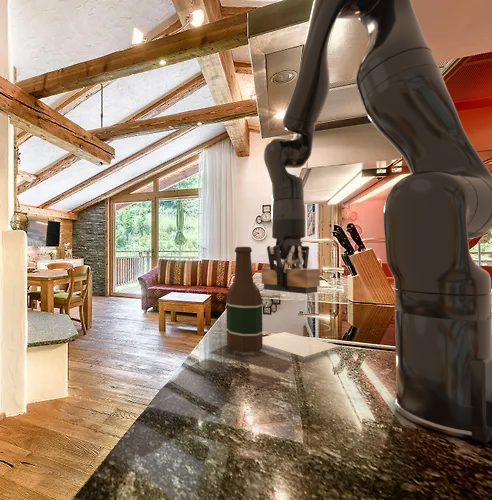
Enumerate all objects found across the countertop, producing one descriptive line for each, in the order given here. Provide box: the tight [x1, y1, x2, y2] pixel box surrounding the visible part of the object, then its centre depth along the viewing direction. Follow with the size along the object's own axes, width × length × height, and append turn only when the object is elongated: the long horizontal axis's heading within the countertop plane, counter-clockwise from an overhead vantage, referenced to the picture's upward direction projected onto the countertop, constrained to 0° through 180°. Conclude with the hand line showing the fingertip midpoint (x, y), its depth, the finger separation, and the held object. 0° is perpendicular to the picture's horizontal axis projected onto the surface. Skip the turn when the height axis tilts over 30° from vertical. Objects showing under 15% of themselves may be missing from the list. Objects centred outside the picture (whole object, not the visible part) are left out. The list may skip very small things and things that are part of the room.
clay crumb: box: [262, 330, 272, 337], centre depth 80 cm, size 4×4×1 cm
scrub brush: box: [260, 267, 321, 295], centre depth 74 cm, size 12×5×6 cm, turn 31°
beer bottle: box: [226, 246, 264, 353], centre depth 69 cm, size 8×8×24 cm
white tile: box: [263, 331, 340, 358], centre depth 71 cm, size 14×14×1 cm
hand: (289, 287), depth 74 cm, fingers closed on scrub brush, 5 cm apart
